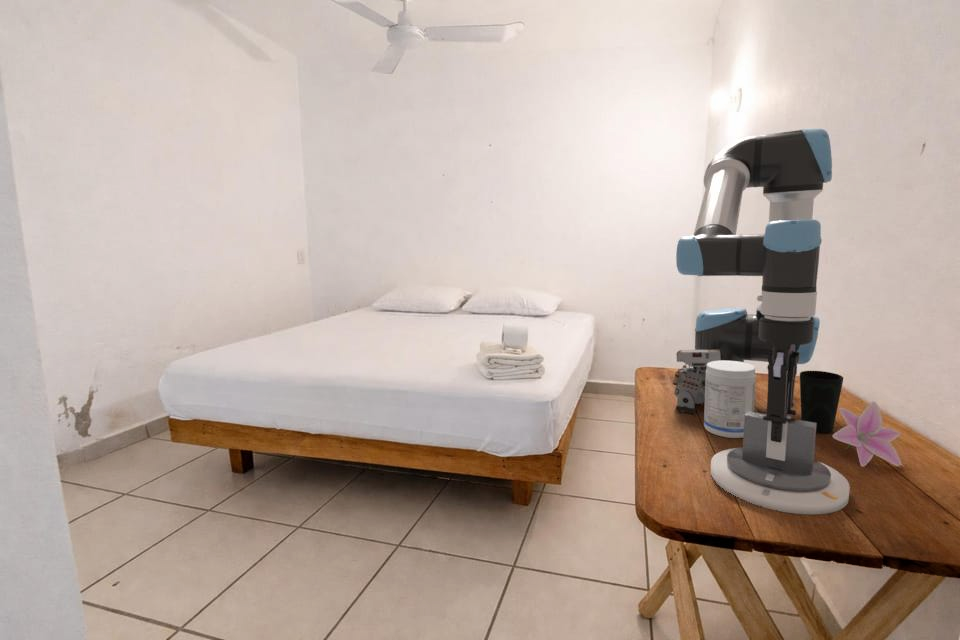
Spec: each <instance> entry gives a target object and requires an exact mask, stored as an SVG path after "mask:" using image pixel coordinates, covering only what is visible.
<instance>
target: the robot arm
mask: <svg viewBox="0 0 960 640" xmlns="http://www.w3.org/2000/svg"><path fill="white" fill-rule="evenodd" d="M831 148H832V146H831V140H830V135H829V133H828V131H826V130H825V129H823V128H813V129H812V128H810V129H803V128H802V129H798V130H797V129H796V130H790V131H784V132H777V133H768V134H762V135H760V134H759V135H751V136H750V135H749V136H746V137H743V138H740V139H739V140H736V141H734V142H732V143H730V144H729V145H727V146H726V147H725V148H723V149H721V150H720V152H718V153H717V154H716V155H715V156H714V157H713V159H711V161H710V162H709V163H708V165H707V167H706V169H705V173H704V174H703V175H704V176H703V186H704V188H705V190H704V194H703V198H702V202H701V204H700V210H699V212H698V216H697V220H696V224H695V228H694V231H693V234H691V235H690V236H688V235H687V236H682V237H681V238H679V239H678V241H677V245H676V251H675V252H676V257H675V259H676V268H677V271H678V273H680V274H681V275H683V276H697V277H715V276H716V277H717V276H720V277H722V276H723V277H728V276H734V277H735V276H739V277H762V282H761V283H762V285H761V295H758V296H757V297H756V300H757V302H761V303H760V304H759V305H758V306H757V307H756V313H755V314H748V311H747V309H746V308H744V307H724V308H715V309H710V310H709V309H708V310H704V311H701V312H700V313H699V314H697V316H696V320H695V328H694V332H695V334H694V335H695V336H694V339H695V340H694V350H715V349H716V350H720V354H721V355H722V359H721V360H726V361H738V362H744V363H745V361H752V362H763V363H765V362H767V363H768V364H767V376H768V378H767V399H766V400H767V401H766V414H767V415H766V416H764V417H763V420H767V421H768V432H767V448H766V457H768V458H772V459H777V460H781V461H785V458H786V444H787V430H788V422H787V418H790V419H792V416H795V417H796V416H797V410H793V408H794V404H795V403H794V397H795V396H794V395H795V381H796V376H797V373H798V365H805V364H807V363H809V362H810V361H811V359H812V357H813V354H814V352H815V349H816V345H817V340H818V337H819V336H818V335H819V329H820V325H821V324H820V321H821V320H820V318H819V317H817V316H816V312H817V311H816V308H817V296H818V291H817V281H818V274H819V273H818V272H819V264H820V263H819V262H820V261H819V260H820V251H821V250H820V249H821V245H822V241H823V239H822V237H821V235H822V233H821V230H822V229H821V223H820V221H818V220H817V219H813V215H814V214H813V213H814V204H815V203H814V202H815V201H814V200H815V199H816V198H817V196H819V195H820V193H823V190H824V189H823V188H824V183H825V184H827V183H829V182H831V181H832V177H833V161H832V160H833V158H832V149H831ZM748 188H762V196H763V197H765V198H766V199H767V200H768V201H769V213H768V223H766V226H765V229H764V233H757V234H756V233H754V234H753V233H750V234H737V230H738V223H739V217H740V211H741V206H742V205H741V204H742V199H743V192H744V191H745V190H746V189H748ZM706 369H707V367H704V368H703V371H705V372H706Z"/></svg>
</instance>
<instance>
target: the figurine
mask: <svg viewBox="0 0 960 640" xmlns="http://www.w3.org/2000/svg"><path fill="white" fill-rule="evenodd" d="M721 359H722V355H721V354H720V350H716V349H715V350H695V349H679V350H678V351H677V352H676V362H677V363H684V365H682V368H680V369H678V370H676V371H675V374H674V379H673V382H672V385H673V386H675V387H674V392H673V395H674V396H675V397H676V398H677V402H676V406H675V410H676V411H677V412H678V411H680V412H681V411H683V412H682V413H684V412H686V413H687V412H688V413H687V414H691V413H692V415H693V414H695V413H696V407H695V406H696V405H695V404H697V405H698V404H699V405H698V406H701V405H703V403H704V404H705V378H706V372H705V371H703V368H704V367H707V363H709V362H712V361H721Z"/></svg>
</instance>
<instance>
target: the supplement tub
mask: <svg viewBox="0 0 960 640" xmlns="http://www.w3.org/2000/svg"><path fill="white" fill-rule="evenodd" d="M756 378H757V376H756V367H755V366H754V365H752V364H750V363H748V362H745V361H744V362H738V361H726V360H721V361H712V362H709V363H707V369H706V378H705V402H704V411H703V412H704V414H703V416H704V417H703V419H704V420H703V427H704V429H705V430H706V431H708V433H711V434H713V435H715V436H718V437H723V438H727V439H742V438H743V436H744V418H745V414H746V413H747V412H748V411H749V412H755V399H756V398H755V397H756V396H755V395H756Z"/></svg>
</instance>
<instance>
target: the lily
mask: <svg viewBox="0 0 960 640" xmlns="http://www.w3.org/2000/svg"><path fill="white" fill-rule="evenodd" d="M838 409H839V411H840V414H841V415H842V417H843V419H844V421H845V423H846V424H847V425H845V426H844V427H842V428H840V429H838V430H837V431H836V432H835V433H834V434H832V438H833V439H834V440H835V441H839V442H842V443H844V444H847V447H846V448H845V450H849V449H850V447H851V446H854V447H855V448H856V452H857V456H858V460H859V464H860V466H861V467H862V468H863V467H866V466H867V464H868V463H870V462H871V460H872V459H873V457H874V455H875V456H877V457H878V458H881V459H882V460H884V461H886V462H889V463H890V464H891V465H893V466H895V467H897V466H899V465H902V466H903V464H902V460H901V459H900V456H899V454H898V452H897V451H896V449H895V447H894V446H893V445H892V444H891V443H890V442H892V441H894V440H896V439H897V438H899V436H900V435H901V433H900V432H899V431H897V430H895V429H892V428H889V427H887V426H883V417H882V414H881V411H880V408H879V406H878V403H877V402H875V401H872V402H870V403H869V404H868V406H867V407H865V409H864V410H863V411H862V412H861V413H860V415H858V414H856V413H854V412H852V411H850V410H848V409H846V408H844V407H841V406H840V407H839V406H838Z"/></svg>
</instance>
